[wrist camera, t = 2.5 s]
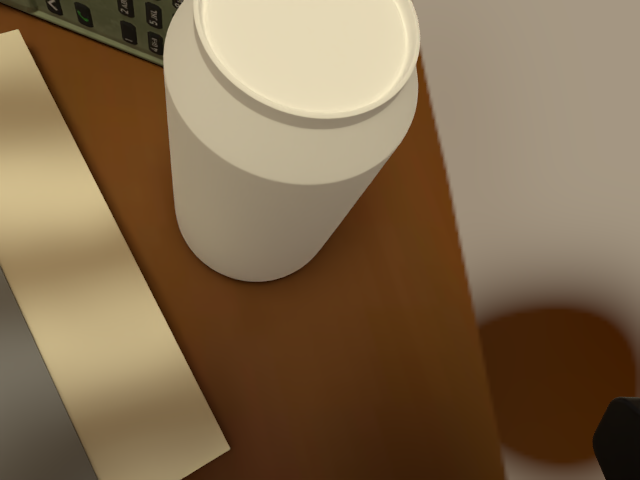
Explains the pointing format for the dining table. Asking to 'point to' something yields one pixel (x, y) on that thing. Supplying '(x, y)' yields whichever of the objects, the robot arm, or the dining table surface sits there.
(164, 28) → the handheld radio
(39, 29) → the dining table surface
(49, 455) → the subfloor board
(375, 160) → the beverage can
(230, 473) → the dining table surface
